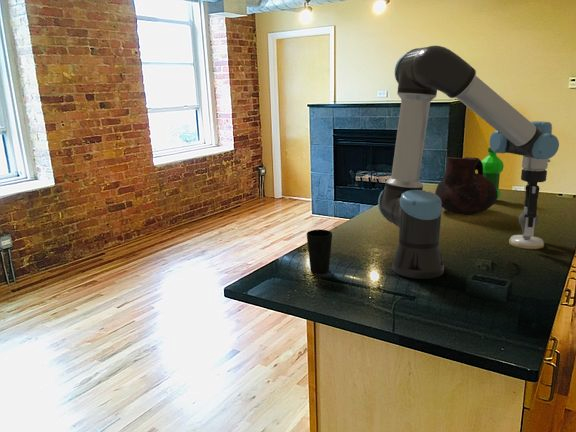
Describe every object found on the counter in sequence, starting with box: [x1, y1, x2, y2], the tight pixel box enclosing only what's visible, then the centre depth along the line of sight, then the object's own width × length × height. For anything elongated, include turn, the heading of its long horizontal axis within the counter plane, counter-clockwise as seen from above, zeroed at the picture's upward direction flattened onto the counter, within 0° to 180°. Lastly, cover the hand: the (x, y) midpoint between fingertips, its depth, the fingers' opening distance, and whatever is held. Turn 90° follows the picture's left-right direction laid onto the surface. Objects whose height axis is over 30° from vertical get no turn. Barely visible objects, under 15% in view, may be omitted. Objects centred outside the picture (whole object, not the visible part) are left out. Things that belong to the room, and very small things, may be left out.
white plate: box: [508, 234, 545, 250], centre depth 164 cm, size 11×11×2 cm
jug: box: [434, 156, 498, 216], centre depth 203 cm, size 25×25×25 cm
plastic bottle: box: [481, 147, 505, 199], centre depth 223 cm, size 10×10×25 cm
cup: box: [306, 229, 333, 275], centre depth 143 cm, size 8×8×12 cm
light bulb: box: [518, 211, 539, 240], centre depth 162 cm, size 6×6×10 cm
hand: (527, 230), depth 163 cm, fingers open, 13 cm apart
